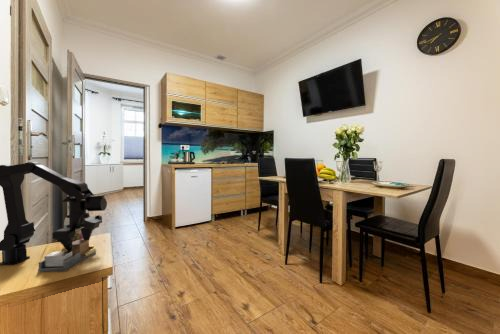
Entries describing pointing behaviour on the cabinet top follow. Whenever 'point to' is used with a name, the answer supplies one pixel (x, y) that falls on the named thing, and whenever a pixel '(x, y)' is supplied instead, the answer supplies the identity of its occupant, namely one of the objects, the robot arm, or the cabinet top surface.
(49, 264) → the light grey block
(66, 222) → the milk bottle
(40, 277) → the cabinet top surface
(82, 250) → the housing
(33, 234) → the robot arm
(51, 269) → the grey tray
